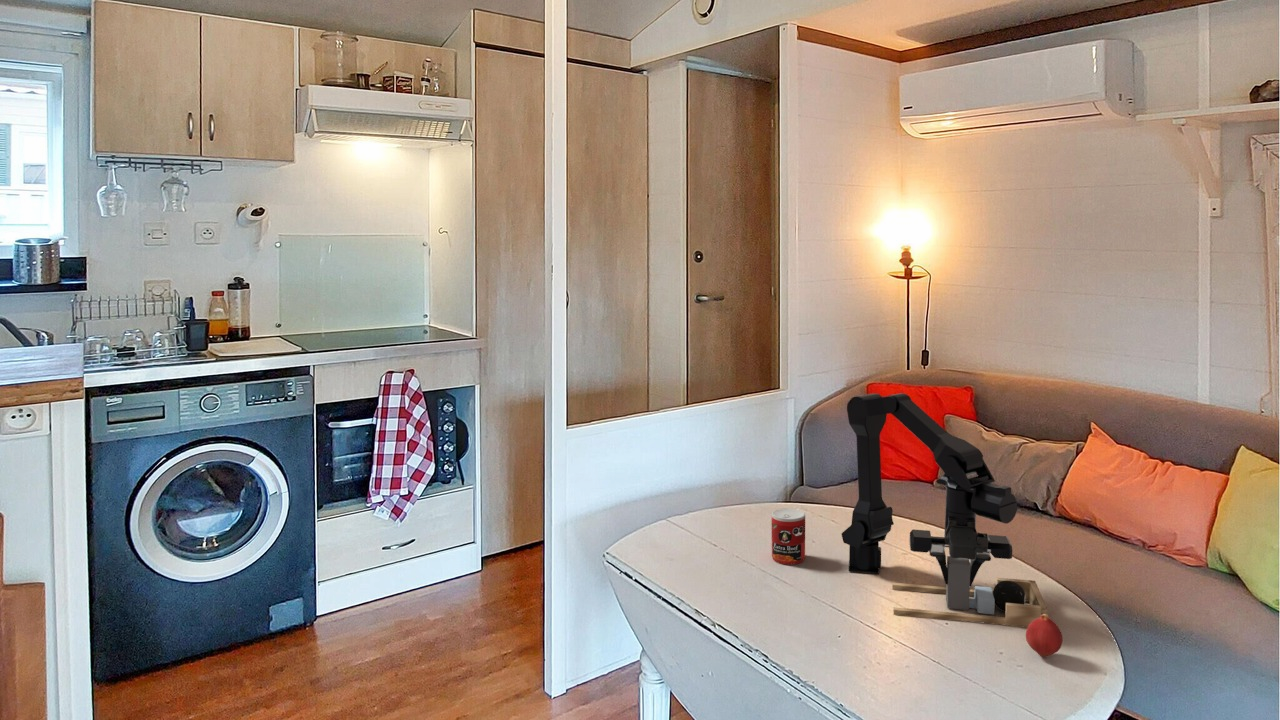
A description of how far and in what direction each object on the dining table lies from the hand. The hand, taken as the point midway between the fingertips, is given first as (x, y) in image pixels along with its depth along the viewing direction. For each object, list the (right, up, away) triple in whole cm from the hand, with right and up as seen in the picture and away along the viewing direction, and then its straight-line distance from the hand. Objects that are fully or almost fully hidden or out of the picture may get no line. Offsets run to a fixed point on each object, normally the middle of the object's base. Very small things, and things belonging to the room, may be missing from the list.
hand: (957, 584), depth 166 cm
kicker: (+2, -4, 0) cm, 5 cm away
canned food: (-29, -2, +27) cm, 40 cm away
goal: (+11, -5, -2) cm, 12 cm away
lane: (-2, -4, +1) cm, 5 cm away
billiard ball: (+9, -5, -2) cm, 11 cm away
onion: (+7, -8, -20) cm, 22 cm away
